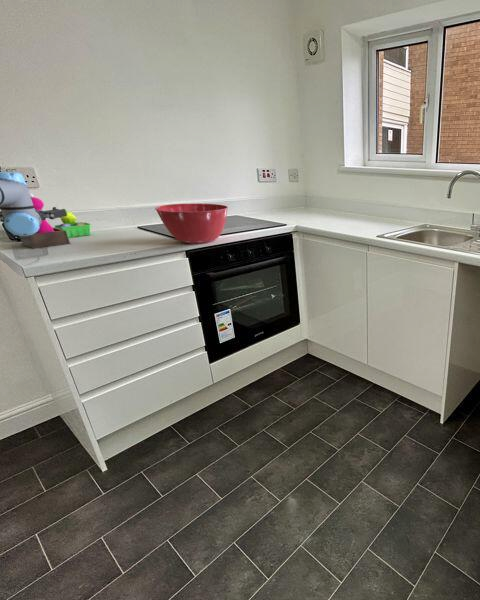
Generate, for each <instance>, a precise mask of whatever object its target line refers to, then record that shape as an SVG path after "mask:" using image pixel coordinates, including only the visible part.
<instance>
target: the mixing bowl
mask: <svg viewBox="0 0 480 600" xmlns="http://www.w3.org/2000/svg"><path fill="white" fill-rule="evenodd" d="M228 209H229V207H228V206H227V205H224V204H217V203H173V204H164V205H158V206H156V207H155V208H154V210H155V211H156V212H157V214H158V216H159V219H160V220H161V222H162V224H163V225H164V227H165V228H166V230H167V231H168V232H169V233H170V235H171V236H172V237H173V238H175V239H176V240H178V241H180V242H181V243H183V244H189V245H194V244H195V245H199V244H201V245H202V244H208V243H212V242H214V241H216V240H217V239H219V237H221V234H222V232H223V230H224V228H225V225H226V220H227V215H228Z"/></svg>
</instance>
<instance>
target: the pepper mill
mask: <svg viewBox="0 0 480 600" xmlns="http://www.w3.org/2000/svg"><path fill="white" fill-rule="evenodd" d="M29 194H30V197H31V200H32V203H33V206H34V209H35V210H42V211H45V209H43V208H44V206H45V204H44V201H43V200H42V199H40V198H38V197H35V196H34V193H31V192H29ZM45 232H54V229H53V226H52V225H51V224H50V223H49V222H48V221H47V218H46V219H45V220H42V223H41V224H40V227H39V230H38V231H37V232H36V233H45ZM34 234H35V233H34Z"/></svg>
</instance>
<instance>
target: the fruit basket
mask: <svg viewBox="0 0 480 600" xmlns="http://www.w3.org/2000/svg"><path fill="white" fill-rule="evenodd" d="M66 213H67V216H63V217H62V218H60V220H61V222H62V223H60V224H56V225H54V227H55V228H58V229H62V230H66V233H67V236H68V238H76V237H83V236H90V235H91V225H92V224H91V223H88V222H81V221H79V222H78V221H77V216H76V215H74V214H73V213H72V212H71V211H69V210H66Z"/></svg>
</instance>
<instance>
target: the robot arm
mask: <svg viewBox="0 0 480 600" xmlns="http://www.w3.org/2000/svg"><path fill="white" fill-rule="evenodd" d="M28 187H29V186H28V184H27V182H26V180H25V178H24V176H23V174H22V173H20V172H16V171H0V222H1V223H3V225H4V227H5V229H6V230H7V231H8V232H9V233H11V234H13V235H15V236H18V237H20V236H29V235H32V234H34V233H36V232H37V231H38V230H39V227H40V224H41V223H42V220H45V219H46V220H47V219H48V220H56V219H61V218H62V217H63V216H67V213H66V211H67V209H65V208H62V209H59V208H57V206H53V207H52V209H47V210H44V211H42V210H35V209H34V206H33V203H32V200H31V197H30V194H29V193H30V191H29V188H28Z"/></svg>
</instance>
